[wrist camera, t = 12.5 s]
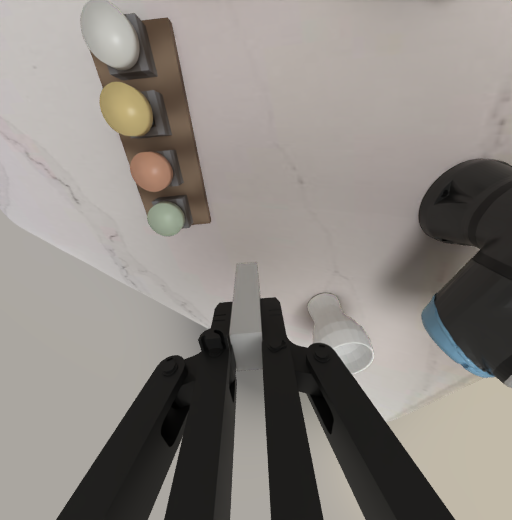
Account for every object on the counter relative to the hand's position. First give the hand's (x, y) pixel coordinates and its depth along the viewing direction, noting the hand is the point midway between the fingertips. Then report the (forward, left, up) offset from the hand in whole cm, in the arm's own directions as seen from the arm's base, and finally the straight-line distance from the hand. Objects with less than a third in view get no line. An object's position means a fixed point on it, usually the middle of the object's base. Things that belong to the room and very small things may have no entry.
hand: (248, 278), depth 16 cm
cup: (-5, +31, -27) cm, 41 cm away
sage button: (+13, -4, -24) cm, 28 cm away
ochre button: (+8, -17, -22) cm, 29 cm away
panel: (+9, -14, -26) cm, 31 cm away
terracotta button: (+10, -11, -24) cm, 28 cm away
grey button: (+5, -24, -24) cm, 34 cm away
